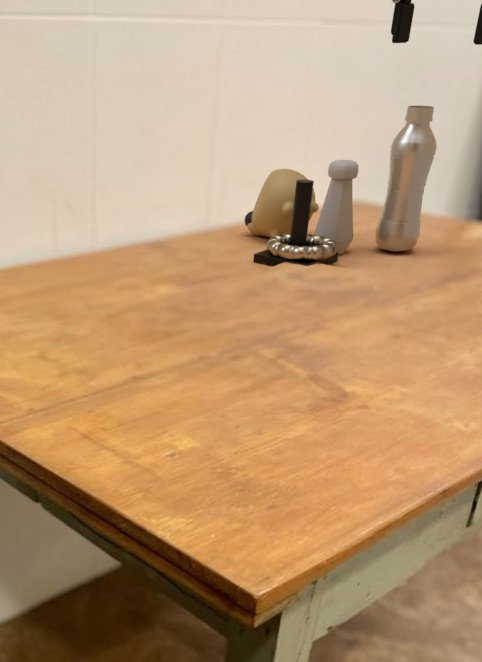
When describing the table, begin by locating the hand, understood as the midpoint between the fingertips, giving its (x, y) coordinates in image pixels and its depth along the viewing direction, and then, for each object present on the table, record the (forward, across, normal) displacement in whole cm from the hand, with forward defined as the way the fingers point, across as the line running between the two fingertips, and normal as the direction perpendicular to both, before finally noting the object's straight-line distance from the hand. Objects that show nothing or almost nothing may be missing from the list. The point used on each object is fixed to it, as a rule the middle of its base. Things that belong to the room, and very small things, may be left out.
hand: (439, 43), depth 94 cm
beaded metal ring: (+26, +16, -3) cm, 31 cm away
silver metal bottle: (+28, +9, -19) cm, 35 cm away
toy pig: (+28, +27, -14) cm, 42 cm away
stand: (+28, +17, -3) cm, 33 cm away
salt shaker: (+28, +16, -12) cm, 35 cm away
